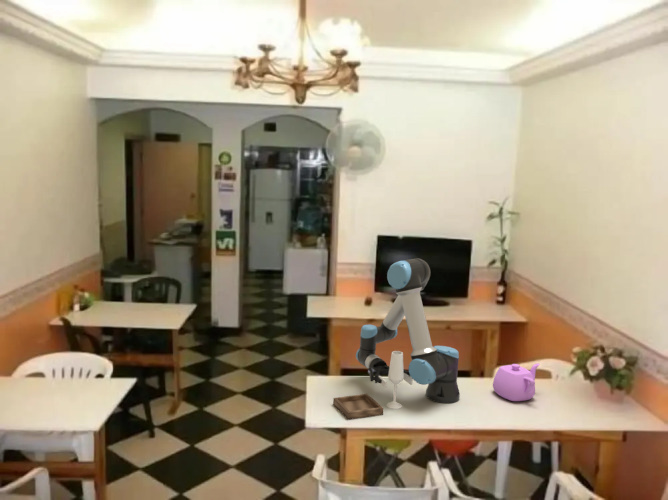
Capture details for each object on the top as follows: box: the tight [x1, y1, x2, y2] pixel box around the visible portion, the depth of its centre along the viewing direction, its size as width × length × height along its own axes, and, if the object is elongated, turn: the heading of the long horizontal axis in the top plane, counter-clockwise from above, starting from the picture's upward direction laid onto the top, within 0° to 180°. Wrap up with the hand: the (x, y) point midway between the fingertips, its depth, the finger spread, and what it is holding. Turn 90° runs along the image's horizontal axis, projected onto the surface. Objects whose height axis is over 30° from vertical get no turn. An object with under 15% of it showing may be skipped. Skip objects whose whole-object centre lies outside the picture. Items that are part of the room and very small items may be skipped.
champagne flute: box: [386, 350, 404, 410], centre depth 265 cm, size 7×7×24 cm
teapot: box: [492, 363, 540, 402], centre depth 281 cm, size 23×21×15 cm
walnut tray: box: [332, 393, 384, 421], centre depth 261 cm, size 16×16×3 cm
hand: (398, 383), depth 261 cm, fingers open, 12 cm apart
